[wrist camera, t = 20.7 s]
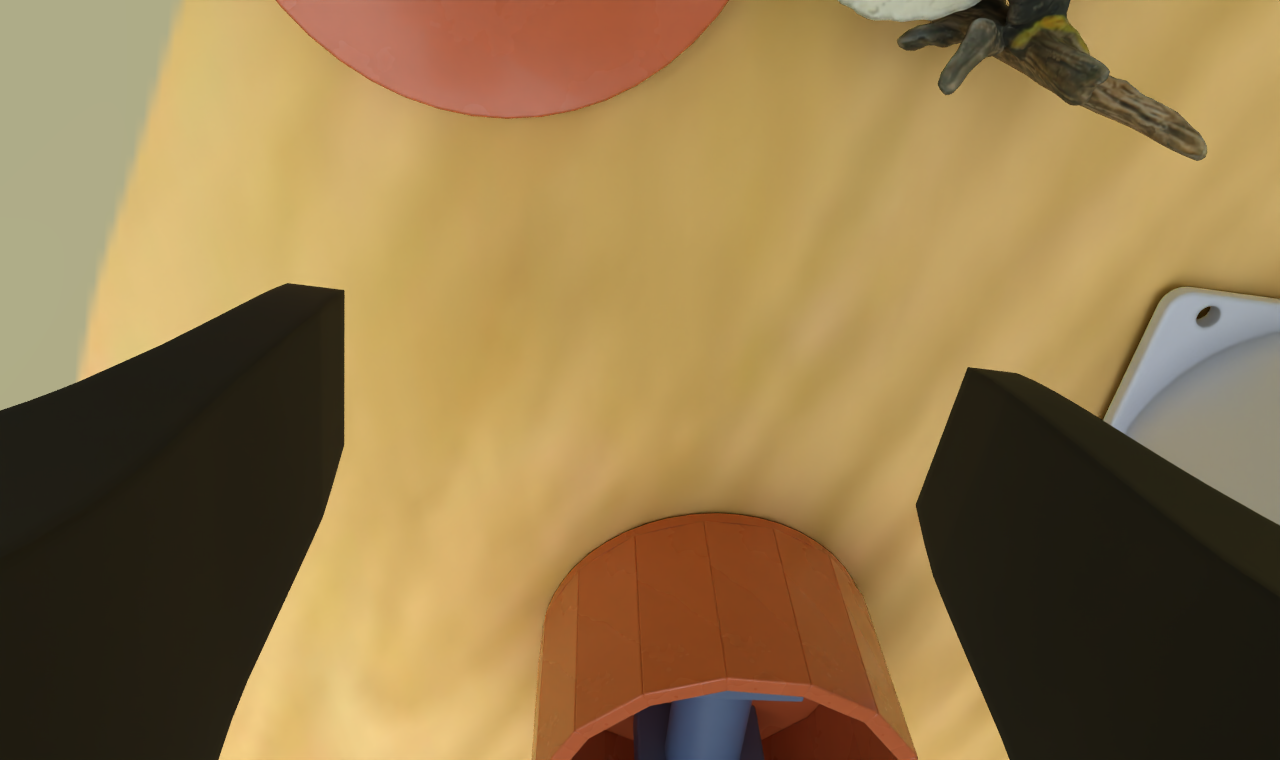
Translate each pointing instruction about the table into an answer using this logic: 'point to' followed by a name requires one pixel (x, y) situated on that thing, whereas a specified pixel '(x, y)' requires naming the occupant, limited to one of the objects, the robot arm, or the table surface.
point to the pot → (715, 642)
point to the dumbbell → (702, 728)
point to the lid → (505, 48)
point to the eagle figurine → (1032, 58)
